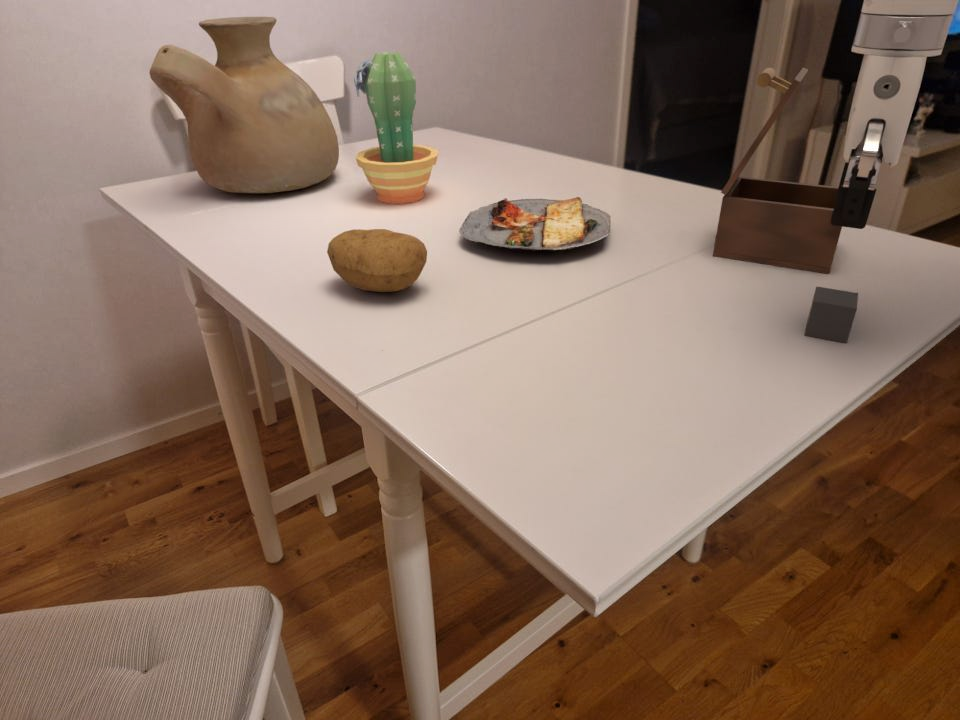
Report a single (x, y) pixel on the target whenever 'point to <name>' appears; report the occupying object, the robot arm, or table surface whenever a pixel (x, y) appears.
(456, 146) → the table surface
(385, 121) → the potted cactus
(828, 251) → the box
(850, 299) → the block
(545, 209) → the food plate
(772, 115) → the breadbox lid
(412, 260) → the potato
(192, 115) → the jug
